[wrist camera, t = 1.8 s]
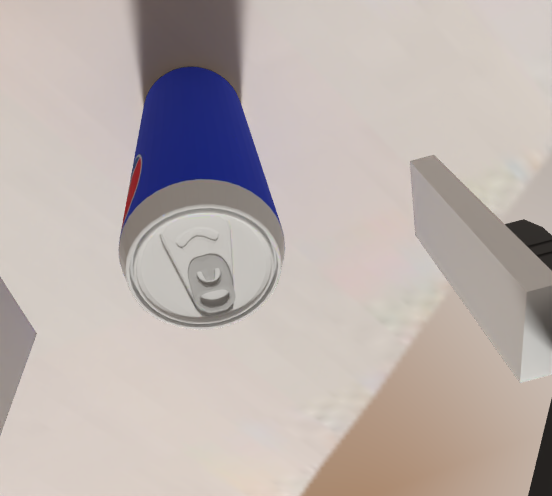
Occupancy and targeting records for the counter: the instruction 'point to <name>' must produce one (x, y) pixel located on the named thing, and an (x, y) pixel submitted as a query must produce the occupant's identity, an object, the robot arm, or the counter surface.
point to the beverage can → (198, 208)
